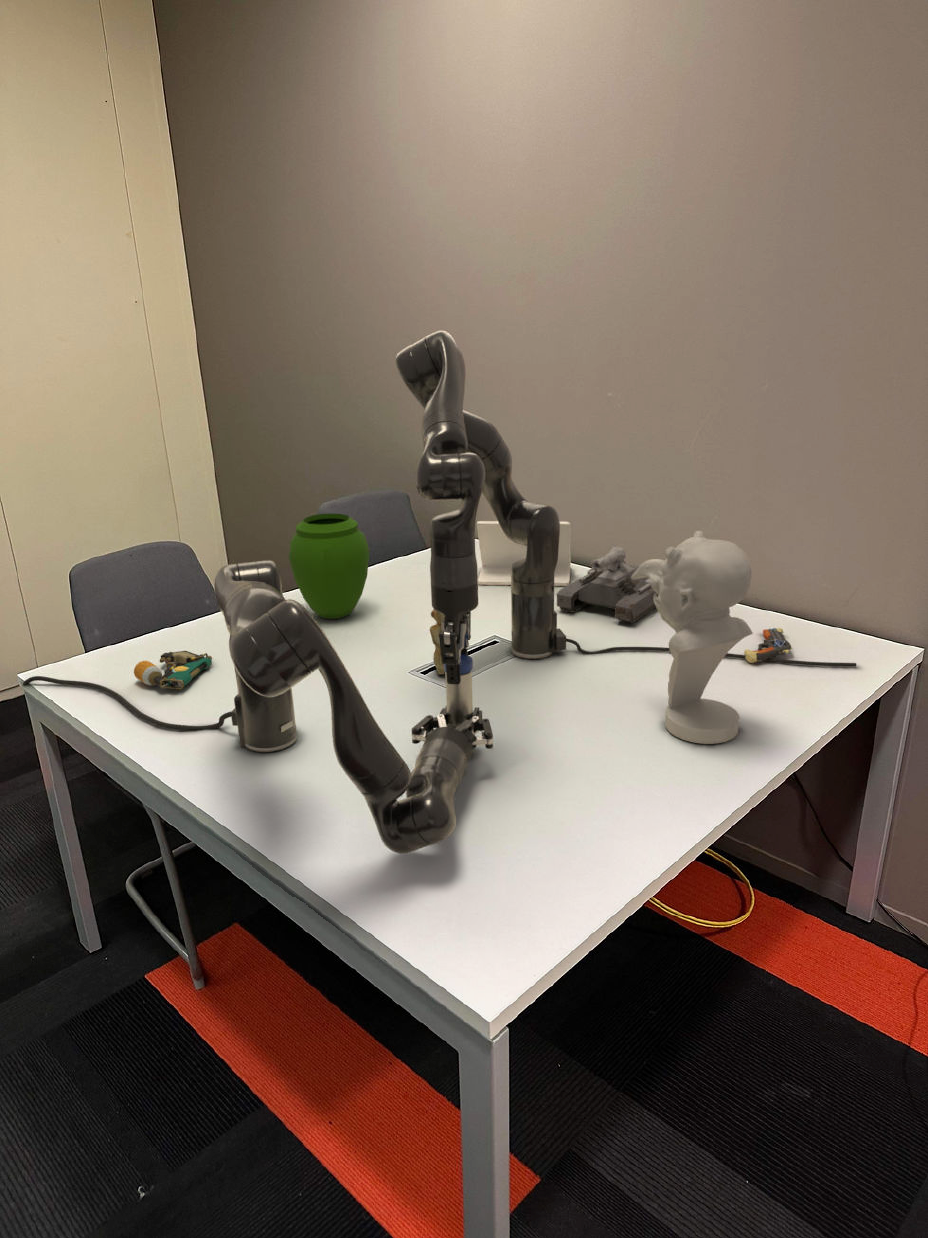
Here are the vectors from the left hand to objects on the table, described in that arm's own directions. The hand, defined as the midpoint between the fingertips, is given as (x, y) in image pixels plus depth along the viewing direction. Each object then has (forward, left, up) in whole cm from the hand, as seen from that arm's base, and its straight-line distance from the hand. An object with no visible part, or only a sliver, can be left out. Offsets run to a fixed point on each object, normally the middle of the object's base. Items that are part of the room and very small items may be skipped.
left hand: (462, 711), depth 147 cm
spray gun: (-66, +21, -7) cm, 69 cm away
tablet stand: (0, +97, -7) cm, 98 cm away
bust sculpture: (+38, +13, -7) cm, 41 cm away
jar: (0, -3, -7) cm, 7 cm away
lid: (0, -3, +11) cm, 11 cm away
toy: (+25, +75, -7) cm, 80 cm away
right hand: (0, -3, +8) cm, 8 cm away
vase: (-44, +61, -7) cm, 76 cm away
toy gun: (+57, +50, -7) cm, 77 cm away
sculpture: (-10, +31, -7) cm, 33 cm away
